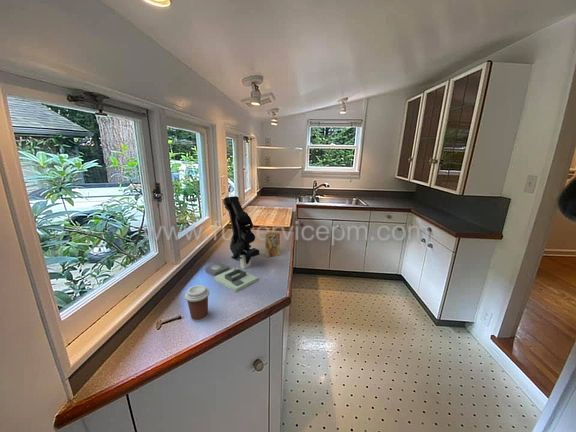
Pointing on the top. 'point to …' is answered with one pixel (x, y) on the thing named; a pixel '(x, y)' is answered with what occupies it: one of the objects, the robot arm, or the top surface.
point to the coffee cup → (198, 302)
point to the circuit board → (235, 279)
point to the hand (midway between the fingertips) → (245, 263)
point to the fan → (216, 269)
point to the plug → (243, 262)
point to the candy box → (272, 244)
